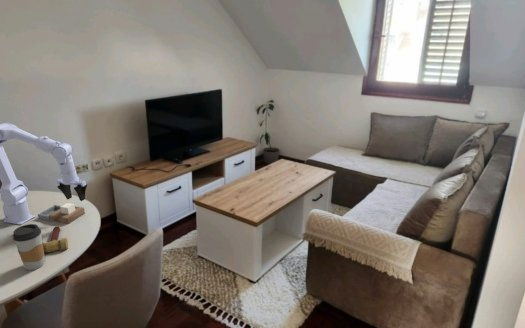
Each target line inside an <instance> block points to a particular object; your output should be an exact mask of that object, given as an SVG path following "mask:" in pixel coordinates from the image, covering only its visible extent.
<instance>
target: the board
mask: <svg viewBox="0 0 525 328" xmlns="http://www.w3.org/2000/svg"><path fill="white" fill-rule="evenodd" d="M85 214H86V212H85V208H84V207H82V206H75V211H73V212H72V213H70V214H64V213H61V208H60V209H59V210H57V211H55V212H53V213H52V214H50V215H49V217H50V221H49V222H55V223H62V224H67V225H69V224H71V223H72V222H74V221H76V220H78V219H79V218H80V217H81V216H84V215H85Z"/></svg>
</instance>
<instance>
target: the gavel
mask: <svg viewBox="0 0 525 328" xmlns="http://www.w3.org/2000/svg"><path fill="white" fill-rule="evenodd" d="M60 231H61V228H60V226H59V225H56V226H54V227H53V229H52V232H51V236H50V239H49V241H46V242H43V241H42V243H43V249H44V254H46V253H52V252H56V251H60V250H61V251H65V250H68V249H69V242H68V238H67V237H63V238H60V239H59V236H60Z"/></svg>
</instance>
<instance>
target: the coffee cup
mask: <svg viewBox="0 0 525 328" xmlns="http://www.w3.org/2000/svg"><path fill="white" fill-rule="evenodd" d="M41 234H42V230H41V228H40V226H38V225H37V224H33V223H28V224H24V225H20V226H19V227H17V228H15V229H14V230H13V234H12V239H13V241H14V243H15V245H16V248H17V251H18V254H19V257H20V260H21V261H22V262H21V263H23V267H24V268H25V269H26V270H28V271H33V270H38V269H40V268H41V267H43V266H44V265H45V262H46V258H45V253H44V249H43V243H44V242H43V240H42V239H43V238H42V235H41ZM42 242H43V243H42Z"/></svg>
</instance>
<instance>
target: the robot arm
mask: <svg viewBox="0 0 525 328" xmlns="http://www.w3.org/2000/svg"><path fill="white" fill-rule="evenodd" d="M13 139H15V140H19V141H22V142H25V143H27V144H28V143H29V144H32V145H33V146H35V149H37V150H40V151H43V152H45V153H48V154H50V155H52V156H53V158H54V159H55V160H56V162H57V164H58V168H59V171H60V175H61V178H58V179H56V184H57V189H58V190H59V191H61V193H62V194H63V196H64V197H65V198H66V200H70V199H72V198H73V196H72V190H71V189H72V188H71V185H73V186H74V187H73V190H74V191H75V192H76V193H77V196H78V199H79V201H81V202H82V201H84V200H85V199H86V191H87V187H88V184H87V182H86V180H83V179H80V176H78V173H77V170H76V166H75V163H74V159H73V155H72V153H73V151H74V149H73V148H74V147H73V146H72V145H71V144H70V143H69V142H66V141H63V142H60V141H58V140H57V141H56V140H54V139H52V138H49V136H47V135H45V136H44V135H43V136H37V135H34V134H32V133H30V132H28V131H26V130H23V129H21V128H20V127H18V126H17V125H16V124H13V123H10V122H7V121H6V122H2V123H0V182H1V187H0V200H1V202H2V203H3V205H2V212H3V215H4V218H5V219H4V220H3V221H4V223H8V224H9V223H10V224H15V225H22V224H24V223H26V222H28V221H29V220H32V219H33V218H35V217H36V215H34V214H31V213H30V209H29V208H30V207H29V205H28V200H27V196H28V194H29V189H28V187H27V186H26V185H25V184H24V182H23V180H19V179H18V178H17V176H16V174H15V172H14V170H13V169H14V168H13V167H12V165H11V161H10V160H9V157H8V155H7V153H6V151H5V148H4V145H5V144H6V143H7V141H8V140H13Z"/></svg>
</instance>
